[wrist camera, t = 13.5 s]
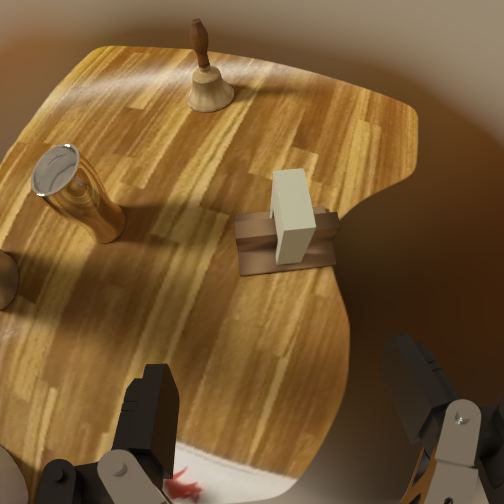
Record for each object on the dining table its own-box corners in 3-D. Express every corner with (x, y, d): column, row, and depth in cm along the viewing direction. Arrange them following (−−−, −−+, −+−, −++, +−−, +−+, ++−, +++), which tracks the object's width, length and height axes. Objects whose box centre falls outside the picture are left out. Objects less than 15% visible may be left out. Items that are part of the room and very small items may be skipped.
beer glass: (98, 198, 43) (48, 139, 29) (136, 206, 43) (91, 143, 29) (79, 240, 41) (20, 192, 27) (118, 252, 41) (61, 202, 26)
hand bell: (208, 120, 48) (194, 40, 32) (176, 99, 49) (156, 26, 34) (244, 93, 49) (240, 16, 34) (211, 75, 51) (200, 3, 36)
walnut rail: (240, 276, 39) (238, 264, 35) (234, 217, 42) (231, 198, 37) (335, 265, 40) (345, 252, 35) (323, 208, 42) (331, 189, 37)
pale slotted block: (300, 262, 39) (316, 227, 29) (276, 265, 39) (283, 230, 29) (292, 215, 41) (303, 168, 31) (269, 217, 41) (273, 170, 31)
